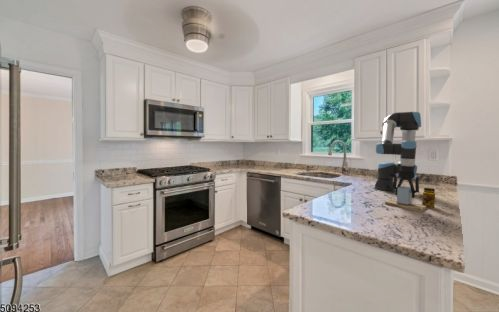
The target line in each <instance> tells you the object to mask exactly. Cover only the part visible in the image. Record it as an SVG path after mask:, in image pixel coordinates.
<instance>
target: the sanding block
mask: <svg viewBox="0 0 499 312" xmlns="http://www.w3.org/2000/svg"><path fill="white" fill-rule="evenodd" d="M411 192H412V191H411V188H410V186H406V185H401V187H398V191H397V195H396V200H397V203H399V204H403V205H410V204H412V203H413V202H412V203H410V193H411Z"/></svg>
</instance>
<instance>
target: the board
mask: <svg viewBox="0 0 499 312" xmlns="http://www.w3.org/2000/svg"><path fill="white" fill-rule="evenodd" d="M419 204H420V203H418V204H417V203H414V202H412V204H410V205H403V204H399V203H397V199H392V198H391V199H389V200H386V201H384V205H387V206H392V207H395V208H396V207H397V208H401V209H405V210H410V211H415V212H419V213H422V212H423V211H425V210H427V208H426V206H424V205H419Z"/></svg>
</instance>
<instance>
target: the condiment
mask: <svg viewBox="0 0 499 312" xmlns="http://www.w3.org/2000/svg"><path fill="white" fill-rule="evenodd" d="M435 190H436V189H435V188H432V187H424V188H423V192H422V200H421V203H418V204H419V205H424V206H426V209H433V210H434V209H435V210H437V209H438V208H437V207H435V203H436V202H435V201H436V193H435V192H436V191H435Z"/></svg>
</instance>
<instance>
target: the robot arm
mask: <svg viewBox="0 0 499 312" xmlns="http://www.w3.org/2000/svg"><path fill="white" fill-rule="evenodd" d="M381 127H382V132H381V138H380V142H377V143H376V145H375V153H376V154H378V155H379V154H380V155H395V156H396V155H397V156H398V155H399V156H400V158H399V160H398V162H397V163H395V161H393V162H391V161H389V162H388V161H387V162H386V161H385V162H384V161H383V162H379V164H378V166H377V178H376V179H377V180H376V181H375V184H374V190H375V189H376V190H379V191H383V192H384V191H386V192H394V191H395V196H397V191H398V187H401V186H402V184H403V182H404V181H407V182H408V183H409V184H408V185H409V187H410V188H411V191H412V192H411V193H410V203H413V199H414V198H415V197H416V196H415V195H416V193H419V192H420V179H421V176H420V175H417V172H418V171H417V170H418V165H416V155H417V148H418V147H417V146H418V145H417V141H416V134H417V133H416V132H418V130H419V128H421V127H422V117H421V112H419V111H405V112H403V111H401V112H397V111H396V112H394V113H393V112H392V113H390V114H389V115H388V116H386V117H384V119H383V121H382V123H381ZM396 128H400V131H401V141H400V142H401V143H394V136H395V129H396ZM398 179H399V182H398ZM414 179H415V182H414V183H415V185H414V183H413V180H414Z"/></svg>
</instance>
